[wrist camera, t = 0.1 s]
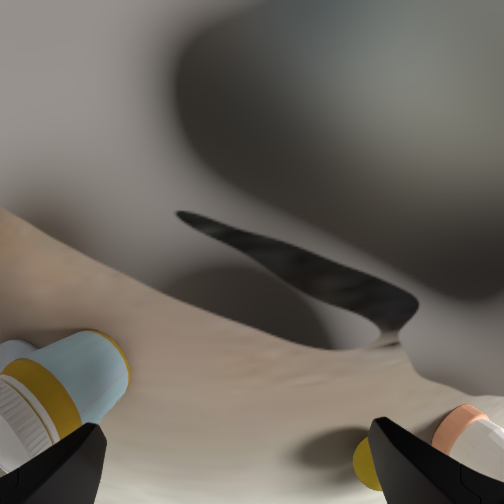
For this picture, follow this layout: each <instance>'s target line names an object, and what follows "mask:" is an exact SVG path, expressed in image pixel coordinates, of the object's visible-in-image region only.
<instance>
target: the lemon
mask: <svg viewBox="0 0 504 504" xmlns="http://www.w3.org/2000/svg"><path fill="white" fill-rule="evenodd" d="M353 468H354V471H355V473H356V475H357V477H358V479H359V480H360V481H361V482H362V483H363V484H364V485H366V486H367V487H368V488H370V489H372V490H376V491H382V488H381V485H380V483H379V480H378V478H377V475H376V471H375V467H374V463H373V459H372V455H371V451H370V447H369V443H368V437H366V438H365V439H364V440H362V441H361V442H360V444H359V445H358V446H357V448H356V450H355V452H354V455H353Z"/></svg>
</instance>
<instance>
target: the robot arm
mask: <svg viewBox="0 0 504 504" xmlns="http://www.w3.org/2000/svg"><path fill="white" fill-rule="evenodd" d="M368 443H369V447H370V451H371V455H372V459H373V463H374V467H375V471H376V475H377V478H378V480H379V483H380V485H381V488H382V491H383V493H384V496H385V499H386V501H387V504H504V482H502V481H499V480H496V479H494V478H491V477H488V476H486V475H484V474H481V473H479V472H477V471H475V470H473V469H471V468H469V467H467V466H465V465H464V464H462V463H459V462H458V461H456V460H455V459H453V458H451V457H450V456H448V455H446V454H444V453H443V452H441V451H439V450H438V449H436V448H434V447H433V446H431V445H429V444H428V443H426V442H425V441H423V440H421V439H420V438H418V437H416V436H415V435H413V434H412V433H410V432H409V431H407V430H405V429H404V428H402V427H401V426H399V425H398V424H396V423H395V422H393V421H392V420H390V419H388V418H387V417H380V418H376V419H374V420H373V421H372V424H371V426H370V429H369V432H368ZM106 446H107V440H106V437H105V436H104V434H103V432H102V430H101V428H100V426H99V425H98V424H96V423H91V422H86V423H85V424H83V425H82V426H80V427H79V428H77V429H76V430H74V431H73V432H72V433H70V434H69V435H67V436H66V437H64V438H63V439H61V440H60V441H58V442H57V443H55V444H54V445H52V446H51V447H49V448H48V449H46V450H45V451H43V452H41V453H40V454H38V455H37V456H35V457H34V458H32V459H31V460H29V461H27V462H26V463H24V464H23V465H21V466H20V467H18V468H16V469H15V470H13V471H11V472H10V473H8V474H6V475H4V476H3V477H0V504H94V501H95V497H96V494H97V490H98V487H99V483H100V479H101V475H102V469H103V463H104V457H105V451H106Z"/></svg>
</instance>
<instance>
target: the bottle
mask: <svg viewBox="0 0 504 504" xmlns="http://www.w3.org/2000/svg"><path fill="white" fill-rule="evenodd" d="M129 383H130V367H129V364H128V361H127V358H126V356H125V355H124V353H123V352H122V350H121V348H120V347H119V346H118V345H117V344H116V343H115V342H114V341H113V340H112V339H111V338H110V337H108V336H106V335H105V334H103V333H101V332H98V331H94V330H85V331H81V332H77V333H75V334H73V335H70V336H68V337H66V338H64V339H61V340H59V341H57V342H54V343H52V344H50V345H47V346H45V347H43V348H41V349H38V350H36V351H34V352H31V353H29V354H27V355H24V356H22V357H20V358H18V359H16V360H14V361H12V362H10V363H9V364H8V365H6V367H5V368H4V369H3V371H2V372H1V373H0V468H1V469H2V470H3V471H4V472H6V473H7V474H8V473H10V472H11V471H13V470H15V469H16V468H18V467H20V466H21V465H23V464H24V463H26V462H27V461H29V460H31V459H32V458H34V457H35V456H37V455H38V454H40V453H41V452H43V451H45V450H46V449H48V448H49V447H51V446H52V445H54V444H55V443H57V442H58V441H60V440H61V439H63V438H64V437H66V436H67V435H69V434H70V433H72V432H73V431H74V430H76V429H77V428H79V427H80V426H82V425H83V424H85V423H86V422H91V423H96V424H98V423H99V422H100V420H101V419H102V418H103V417H104V416H105V415H106V414H107V413H108V411H109V410H110V409H111V408H112V407H113V406H114V405H115V403H116V402H117V401H118V400H119V399H120V398H121V397H122V396H123V394H124V393H125V392H126V391H127V389H128V386H129Z"/></svg>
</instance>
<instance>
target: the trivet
mask: <svg viewBox="0 0 504 504" xmlns="http://www.w3.org/2000/svg"><path fill="white" fill-rule="evenodd" d="M36 350H38V348H37V347H35V346H34V345H33V344H31V343H29V342H27V341H24V340H21V339H12V340H9V341H6V342H3V343H1V344H0V373H1V372H2V371H3V369H4V368H5V367H6V365H8V364H9V363H10V362H12V361H14V360H16V359H18V358H20V357H22V356H24V355H27V354H29V353H31V352H34V351H36Z"/></svg>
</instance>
